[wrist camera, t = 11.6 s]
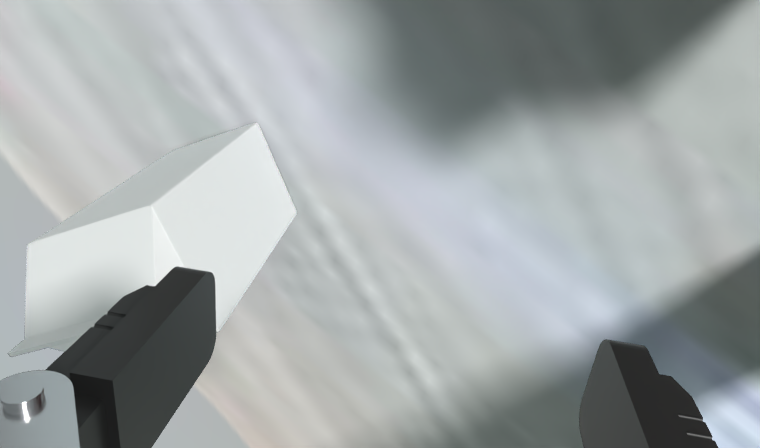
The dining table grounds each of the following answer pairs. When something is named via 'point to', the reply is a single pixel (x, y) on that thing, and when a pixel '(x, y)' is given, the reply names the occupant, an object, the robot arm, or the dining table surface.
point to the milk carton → (159, 236)
